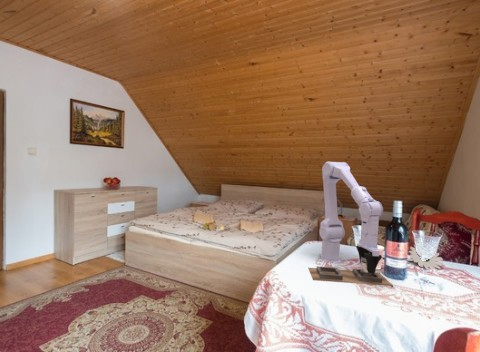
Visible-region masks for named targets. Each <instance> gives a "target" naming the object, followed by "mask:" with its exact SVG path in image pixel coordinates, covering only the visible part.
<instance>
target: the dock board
mask: <svg viewBox="0 0 480 352" xmlns="http://www.w3.org/2000/svg"><path fill="white" fill-rule="evenodd" d="M360 269H361V268H360ZM360 269H359V268H352V270H350V269H349V270H347V269H338V267H331V266H330V267H329V266H316V267H308V271H309V273H310V276H311V278H312V280H313V281H321V282H332V283H347V284H348V283H349V284H357V285H358V284H361V285H371V286H373V285H375V286H385V287H388V286H390V287H391V288H394V285H393V284H392V283H391V282H390V281H389V280H387V278H386V277H384V275H382V274H381V272H378V271H375V272H374V273H372V277H365V276H361V275H360Z"/></svg>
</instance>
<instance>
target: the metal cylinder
mask: <svg viewBox="0 0 480 352" xmlns="http://www.w3.org/2000/svg"><path fill="white" fill-rule="evenodd" d="M360 275H361V276H365V277H372V273H368V270H367V261H366V257H365V256H362V257H361V264H360Z"/></svg>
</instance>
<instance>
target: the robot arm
mask: <svg viewBox="0 0 480 352" xmlns="http://www.w3.org/2000/svg"><path fill="white" fill-rule="evenodd" d="M321 172H322V173H321V174H322V183H323V184H322V185H323V200H324V201H323V202H324V215H325V216H324V217H325V218H324V219H323V220H322V221H321V222H320V224H319V225H320V227H319V236H320V238H321V240H322V241H321V253H319V257H320V258H321V260H322V261H323V262H332V263H343V261H342V260H341V258H340V251H341V249H340V247H341V242H342V239H343V238H344V237H345V235H346V234H345V233H346V231H345V229H344V225H343V221H341V220H340V219H339V215H338V214H339V213H338V201H337V183H338V182H339V181H341V180H342V181H343V182H344V183H345V185H346V186H347V187H348V189H350V191H351V192H350V196H351V197H352V199H353V200H354V202H355V203H356V205H357V207H358V212H359V214H360V221H361V227H360V228H361V229H360V230H361V231H360V238H359V242H358V243H356V246H355V248H356V250H357V253H358V256H359V263H360V265H361V257H362V256H365V257H366V261H367V270H368V273H374V272H376V270H377V269H376V267H377V264H378V262H379V261H380V260H381V258H382V256H381V255H379V250H378V246H377V245H378V237H379V222H380V217H381V216H382V215H383V212H384V207H383V205H382V203H381V202H380V201H377V200H375V199H374V197H372V196H371V194H370V193H369V191H368V190H367V188H366V187H365V186H360V185H359V184H358V182H357V180H356V178H355V177H354V176H353V174H352V172H351V167H350V166H349V164H348V163H347V162H345V161H342V162H339V161H326V162H324V164H323V166H322V167H321Z"/></svg>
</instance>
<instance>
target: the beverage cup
mask: <svg viewBox="0 0 480 352" xmlns="http://www.w3.org/2000/svg"><path fill="white" fill-rule="evenodd" d="M377 246H378V250H379V255H381V256H382V257H383V258H384V256H383V254H384V250H385V247H384V246H383V245H379V244H377ZM382 262H383V259H382V258H381V260H380V261H379V262H378V264H377V267H376V270H382V269H381V268H382V265H383V264H382Z"/></svg>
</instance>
